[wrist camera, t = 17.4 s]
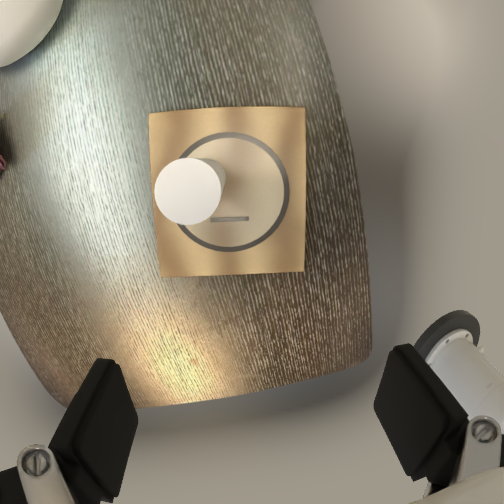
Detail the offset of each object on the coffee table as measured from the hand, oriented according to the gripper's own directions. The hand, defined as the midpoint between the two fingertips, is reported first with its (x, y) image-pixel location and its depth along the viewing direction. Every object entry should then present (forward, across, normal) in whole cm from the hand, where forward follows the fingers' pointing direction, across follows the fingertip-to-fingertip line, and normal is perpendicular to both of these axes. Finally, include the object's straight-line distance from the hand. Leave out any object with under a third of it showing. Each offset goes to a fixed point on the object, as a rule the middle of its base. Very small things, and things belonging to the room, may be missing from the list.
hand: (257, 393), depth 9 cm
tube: (+26, +4, -6) cm, 27 cm away
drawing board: (+28, +1, -4) cm, 28 cm away
